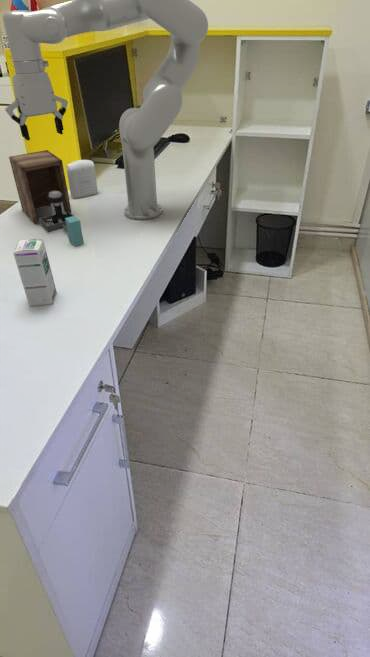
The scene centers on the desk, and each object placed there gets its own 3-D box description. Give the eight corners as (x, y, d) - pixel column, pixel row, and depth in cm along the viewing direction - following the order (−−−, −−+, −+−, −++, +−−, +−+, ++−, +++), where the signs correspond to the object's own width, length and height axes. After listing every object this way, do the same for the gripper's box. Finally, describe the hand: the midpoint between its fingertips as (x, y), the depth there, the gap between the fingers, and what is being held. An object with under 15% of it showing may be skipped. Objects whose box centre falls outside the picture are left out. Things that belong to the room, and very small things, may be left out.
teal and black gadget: (94, 239, 133) (91, 217, 128) (62, 248, 128) (58, 225, 124) (69, 216, 147) (65, 195, 143) (40, 223, 143) (35, 202, 139)
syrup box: (53, 304, 106) (39, 249, 97) (28, 306, 106) (12, 251, 97) (56, 291, 111) (44, 238, 102) (32, 293, 110) (18, 239, 102)
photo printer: (95, 190, 168) (90, 156, 160) (100, 193, 165) (95, 159, 157) (69, 196, 163) (62, 161, 156) (73, 200, 160) (67, 164, 153)
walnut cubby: (72, 215, 149) (61, 160, 138) (34, 224, 144) (21, 167, 133) (58, 202, 158) (47, 150, 148) (22, 210, 153) (8, 156, 142)
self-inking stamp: (48, 227, 141) (41, 197, 135) (48, 221, 146) (41, 191, 140) (69, 225, 143) (63, 194, 137) (69, 218, 147) (63, 188, 141)
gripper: (55, 63, 124) (67, 128, 134) (-8, 70, 117) (10, 139, 127) (65, 65, 119) (77, 133, 129) (-1, 73, 112) (17, 144, 122)
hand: (43, 136), depth 128 cm, fingers open, 9 cm apart
